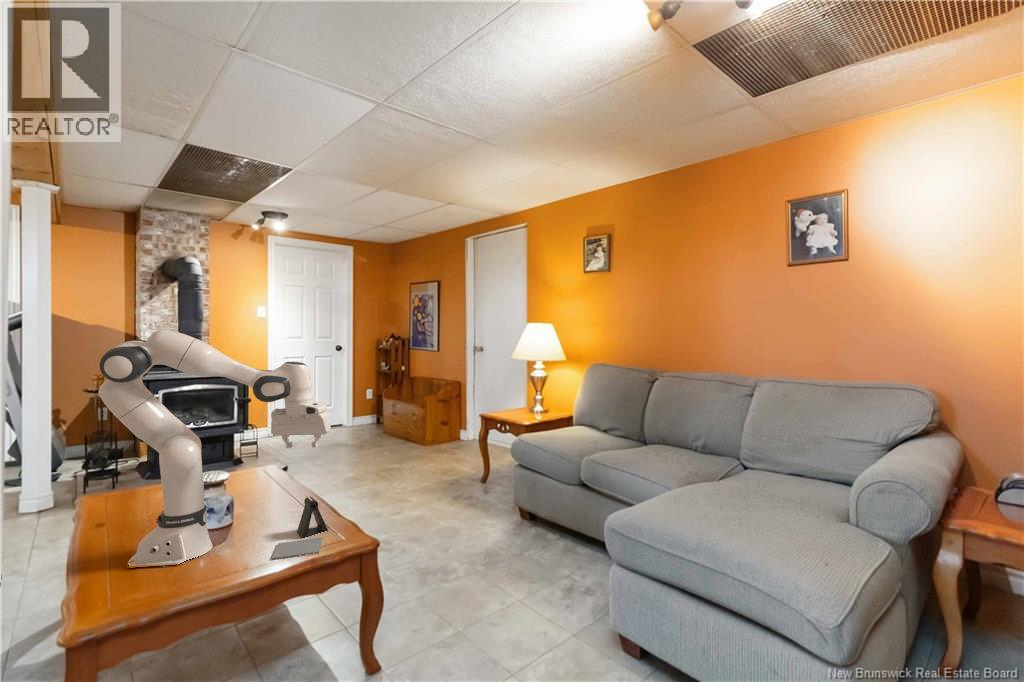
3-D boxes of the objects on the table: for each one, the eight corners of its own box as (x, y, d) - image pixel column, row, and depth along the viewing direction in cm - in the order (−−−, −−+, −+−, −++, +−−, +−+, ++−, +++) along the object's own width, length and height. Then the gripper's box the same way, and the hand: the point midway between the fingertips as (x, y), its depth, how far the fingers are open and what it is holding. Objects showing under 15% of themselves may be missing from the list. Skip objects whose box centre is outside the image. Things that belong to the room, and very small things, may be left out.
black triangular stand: (301, 538, 168) (300, 504, 168) (296, 533, 173) (295, 499, 172) (328, 531, 174) (326, 498, 173) (322, 526, 179) (321, 493, 178)
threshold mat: (271, 560, 153) (271, 558, 153) (278, 544, 164) (277, 543, 164) (319, 553, 157) (318, 551, 157) (322, 538, 168) (322, 537, 168)
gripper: (265, 410, 167) (268, 450, 168) (322, 408, 165) (325, 449, 166) (276, 407, 174) (279, 445, 174) (331, 405, 171) (334, 444, 172)
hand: (302, 447), depth 170 cm, fingers open, 8 cm apart
